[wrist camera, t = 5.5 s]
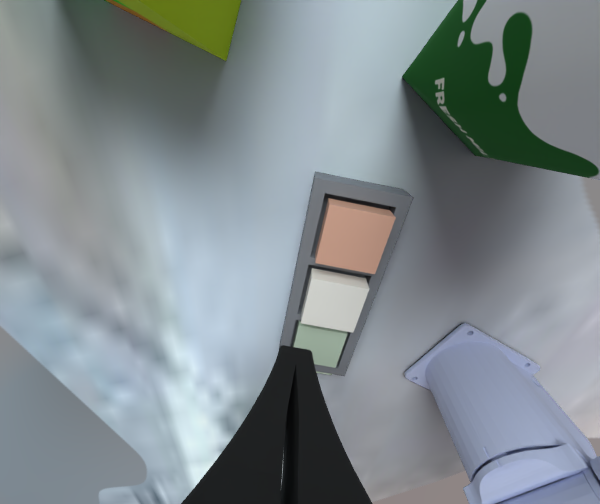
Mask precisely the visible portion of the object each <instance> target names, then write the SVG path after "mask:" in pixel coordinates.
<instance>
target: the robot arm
mask: <svg viewBox="0 0 600 504" xmlns="http://www.w3.org/2000/svg"><path fill="white" fill-rule="evenodd" d="M469 331H470V332H469ZM539 370H540V366H539V365H538V364H537V363H535V362H534V361H532V360H530V359H528V358H527V357H525V356H523V355H521V354H520V353H518V352H516V351H514V350H513V349H511V348H509V347H507V346H506V345H504V344H502V343H500V342H499V341H497V340H495V339H493V338H492V337H490V336H488V335H486V334H485V333H483V332H481V331H479V330H478V329H476V328H474V327H473V326H471V325H469V324H461V325H460V326H459V327H457V328H456V329H455V330H454V331H453V332H451V333H450V334H449V335H448V336H447V337H446V338H444V339H443V340H442V341H441V342H440V343H439V344H437V345H436V346H435V347H434V348H433V349H432V350H430V351H429V352H428V353H427V354H426V355H424V356H423V357H422V358H421V359H420V360H419V361H417V362H416V363H415V364H414V365H413V366H412V367H410V368H409V369H408V370H407V371H406V372H405V377H406V379H408V380H410V381H412V382H414V383H416V384H418V385H420V386H422V387H424V388H426V389H428V390H430V391H432V394H433V396H434V398H435V401H436V403H437V405H438V408H439V410H440V412H441V415H442V417H443V419H444V422H445V424H446V426H447V428H448V431H449V433H450V435H451V438H452V440H453V442H454V445H455V447H456V449H457V452H458V454H459V456H460V459H461V461H462V463H463V466H464V468H465V470H466V473H467V475H468V477H469V479H470V482H471V483H470V484H469V485H467V486H465V487H464V488H463V490H464V492H465V495H466V497H467V500H468V502H469V504H600V456H598V457H597V456H596V453H595V451H594V449H593V447H592V445H591V444H590V442H589V440H588V439H587V438H586V437H585V435H584V434H583V433H582V432H581V431H580V429H579V428H578V427H577V426H576V425H575V424H574V422H573V421H572V420H571V419H570V418H569V417H568V415H567V414H566V413H565V412H564V411H563V410H562V408H561V407H560V406H559V405H558V404H557V403H556V401H555V400H554V399H553V398H552V397H551V396H550V395H549V393H548V392H547V391H546V390H545V389H544V388H543V386H542V385H541V384H540V383H539V382H538V381H537V379H536V378H535V377H534V376H533V374H535V373H537V372H538V371H539ZM283 450H284V457H283ZM282 465H283V475H282ZM281 479H282V485H281ZM181 504H372V502H371V500H370V498H369V497H368V495H367V493H366V491H365V489H364V487H363V485H362V484H361V482H360V480H359V478H358V476H357V474H356V472H355V471H354V469H353V466H352V464H351V462H350V460H349V458H348V456H347V454H346V452H345V450H344V448H343V445H342V443H341V441H340V439H339V436H338V434H337V432H336V429H335V427H334V424H333V422H332V419H331V417H330V414H329V411H328V409H327V406H326V403H325V400H324V397H323V394H322V391H321V388H320V384H319V381H318V377H317V373H316V369H315V365H314V360H313V355H312V352H311V350H307V349H302V348H296V347H291V346H285V345H282V346H280V348H279V353H278V356H277V359H276V362H275V364H274V367H273V369H272V371H271V373H270V375H269V377H268V380H267V382H266V384H265V386H264V388H263V390H262V391H261V393H260V395H259V397H258V398H257V400H256V402H255V404H254V405H253V407H252V409H251V411H250V412H249V414H248V415H247V417H246V419H245V420H244V422H243V423H242V425H241V426H240V428H239V429H238V431H237V432H236V434H235V435H234V437H233V438H232V439H231V441H230V442H229V444H228V445H227V446H226V448H225V449H224V451H223V452H222V453H221V455H220V456H219V457H218V459H217V460H216V461H215V463H214V464H213V465H212V466H211V468H210V469H209V470H208V472H207V473H206V474H205V475H204V477H203V478H202V479H201V480H200V482H199V483H198V484H197V485H196V487H195V488H194V489H193V490H192V492H191V493H190V494H189V495H188V496H187V497H186V499H185V500H184V501H183V502H182V503H181Z"/></svg>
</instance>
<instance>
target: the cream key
mask: <svg viewBox="0 0 600 504" xmlns="http://www.w3.org/2000/svg"><path fill="white" fill-rule="evenodd" d="M368 292H369V286H368V283H367V280H366V278H362V277H357V276H351V275H346V274H341V273H335V272H330V271H325V270H320V269H314V268H312V270H311V274H310V278H309V282H308V287H307V291H306V295H305V299H304V303H303V308H302V314H301V323H302V324H308V325H313V326H319V327H324V328H330V329H335V330H341V331H346V332H352V333H353V332H354V330H355V327H356V324H357V321H358V319H359V316H360V313H361V311H362V308H363V305H364V302H365V300H366V297H367V294H368Z"/></svg>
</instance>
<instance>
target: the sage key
mask: <svg viewBox="0 0 600 504" xmlns="http://www.w3.org/2000/svg"><path fill="white" fill-rule="evenodd" d="M346 337H347V332H346V331H341V330H335V329H330V328H324V327H319V326H313V325H308V324H302V323H301V321H299V320H298V323H297V328H296V332H295V336H294V340H293V345H292V347H296V348H302V349H307V350H311V352H312V355H313V360H314V364H316V365H322V366H327V367H333V368H336V365H337V362H338V360H339V357H340V354H341V351H342V348H343V346H344V343H345V340H346Z"/></svg>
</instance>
